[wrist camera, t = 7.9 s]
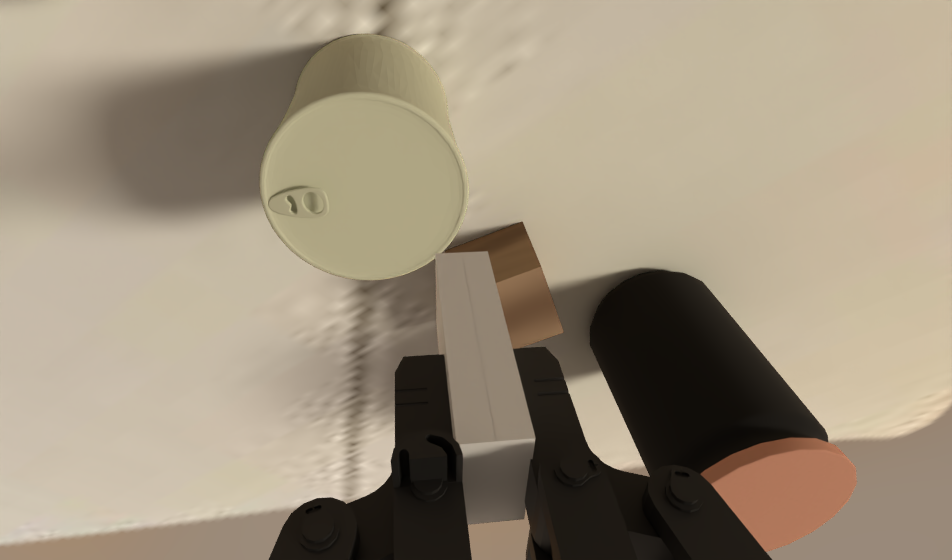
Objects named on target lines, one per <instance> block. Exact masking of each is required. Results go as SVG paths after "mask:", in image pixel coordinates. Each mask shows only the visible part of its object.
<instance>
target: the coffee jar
mask: <svg viewBox="0 0 952 560" xmlns="http://www.w3.org/2000/svg"><path fill="white" fill-rule="evenodd" d="M590 346H591V348H592V350H593V353H594V355H595V357H596V359H597V361H598V364H599V366H600V368H601V370H602V372H603V375H604V377H605V379H606V381H607V383H608V386H609V388H610V390H611V392H612V394H613V396H614V399H615V401H616V403H617V405H618V407H619V410H620V412H621V414H622V416H623V418H624V421H625V423H626V425H627V427H628V429H629V432H630V434H631V436H632V438H633V440H634V443H635V445H636V447H637V449H638V451H639V453H640V456H641V458H642V460H643V462H644V464H645V467H646V469H647V471H648V473H649V475H650V477H651V475H652V473H653V472H654V471H655V470H657V469H659V468H660V467H662V466H668V465H678V466H683V467H687V468H689V469H691V470H693V471H695V472H697V473H699V474H701V475H702V476H703V477H704V478H705V479H706V480H707V481H708V482H709V483H710V484H711V485H712V486H713V487H714V488H715V490H716V491H717V492H718V493H719V495H720V496H721V497H722V498H723V500H724V501H725V502H726V503H727V505H728V506H729V507H730V508H731V509H732V511H733V512H734V513H735V514H736V516H737V517H738V518H739V519H740V521H741V522H742V523H743V524H744V526H745V527H746V528H747V529H748V530H749V532H750V533H751V534H752V535H753V537H754V538H755V539H756V540H757V542H758V543H759V544H760V545H761V547H762V548H763V549H764V550H765V552H767V551H770V550H773V549H776V548H779V547H782V546H785V545H788V544H790V543H792V542H794V541H796V540H798V539H800V538H802V537H803V536H805V535H807V534H809V533H811V532H813V531H814V530H816V529H817V528H818V527H820V526H821V525H823V524H824V523H825V522H827V521H828V520H829V519H831V518H832V517H834V516H835V514H836V513H837V512H838V511H839V510H840V509H841V508H842V507H843V506H844V505H845V504H846V503H847V501H848V500H849V498H850V496H851V494H852V492H853V490H854V488H855V486H856V483H857V481H856V468H855V466H854V465H853V464H852V462H850V460H849V459H848V458H847V457H846V456H845V455H844V453H843V452H842V451H841V450H840V449H839V448H838V447H837V446H836V445H833V444H831V443H828V435H827V433H826V431H825V429H824V428H823V427H822V425H821V424H820V423H819V422H818V421H817V419H816V418H815V417H814V416H813V415H812V413H811V412H810V411H809V410H808V409H807V407H806V406H805V405H804V404H803V402H802V401H801V400H800V399H799V398H798V396H797V395H796V394H795V393H794V392H793V390H792V389H791V388H790V387H789V386H788V384H787V383H786V382H785V381H784V379H783V378H782V377H781V376H780V375H779V373H778V372H777V371H776V370H775V369H774V367H773V366H772V365H771V364H770V363H769V361H768V360H767V359H766V358H765V356H764V355H763V354H762V353H761V352H760V350H759V349H758V348H757V347H756V346H755V344H754V343H753V342H752V341H751V340H750V338H749V337H748V336H747V335H746V333H745V332H744V331H743V330H742V329H741V327H740V326H739V325H738V324H737V323H736V321H735V320H734V319H733V318H732V317H731V315H730V314H729V313H728V312H727V311H726V309H725V308H724V307H723V306H722V304H721V303H720V302H719V301H718V300H717V298H716V297H715V296H714V295H713V294H712V292H711V291H710V290H709V289H708V288H707V287H706V285H705V284H704V283H703V282H702V281H700V280H698V279H696V278H694V277H692V276H689V275H687V274H685V273H680V272H669V271H654V272H648V273H643V274H639V275H637V276H635V277H633V278H630V279H628V280H626V281H624V282H622V283H621V284H620V285H618V286H617V287H616V288H615V289H613V290H612V291H611V292H609V293H608V295H607V296H606V297H605V298H604V300H603V301H602V302H601V303H600V305H599V306H598V309H597V311H596V313H595V316H594V318H593V321H592V323H591V326H590Z"/></svg>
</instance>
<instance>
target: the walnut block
mask: <svg viewBox="0 0 952 560" xmlns="http://www.w3.org/2000/svg"><path fill="white" fill-rule="evenodd" d="M483 251H488V254H489V258H490V262H491V266H492V270H493V274H494V278H495V282H496V286H497V290H498V294H499V297H500V301H501V305H502V309H503V313H504V317H505V321H506V325H507V329H508V333H509V336H510V340H511V344H512V348H513V349H517V348H521V347H524V346H527V345H530V344H533V343H536V342H538V341H541V340H544V339H547V338H550V337H552V336H555V335H558V334H561V333H564V332H563V329H562V326H561V323H560V320H559V317H558V314H557V311H556V308H555V305H554V303H553V300H552V297H551V294H550V291H549V288H548V285H547V282H546V279H545V276H544V274H543V271H542V268H541V265H540V263H539V260H538V258H537V256H536V253H535V251H534V248H533V246H532V244H531V241H530V239H529V236H528V234H527V232H526V229H525V227H524V224H523V222H520V223H517V224H515V225H512V226H509V227H507V228H504V229H501V230H499V231H496V232H493V233H491V234H488V235H486V236H483V237H480V238H478V239H475V240H472V241H470V242H467V243H464V244H462V245H459V246H456V247H454V248H451V249H448V250H446V251H445V253H459V252H483Z"/></svg>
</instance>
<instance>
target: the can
mask: <svg viewBox="0 0 952 560" xmlns="http://www.w3.org/2000/svg"><path fill="white" fill-rule="evenodd" d="M259 188H260V195H261V200H262V204H263V208H264V211H265V214H266V216H267V218H268V221H269V222H270V224H271V226H272V228H273V229H274V231H275V232H276V234H277V235H278V237H279V238H280V239H281V240H282V241H283V243H284V244H285V245H286V246H287V247H288V248H289V249H290V250H291V251H292V252H293V253H295V254H296V255H297V256H298V257H300V258H301V259H302V260H304V261H305V262H307V263H309V264H310V265H312V266H314V267H316V268H318V269H320V270H322V271H325V272H327V273H330V274H332V275H336V276H340V277H343V278H349V279H355V280H383V279H389V278H394V277H398V276H402V275H405V274H408V273H410V272H413V271H415V270H417V269H419V268H421V267H423V266H425V265H426V264H428V263H429V262H431V261H432V260H434V259H435V253H442V252H443V251H444V250H445V249H446V248H447V246H448V245H449V244H450V243H451V242H452V240H453V239H454V237H455V236H456V234H457V233H458V231H459V229H460V227H461V225H462V222H463V219H464V217H465V213H466V210H467V205H468V196H469V185H468V176H467V171H466V167H465V164H464V161H463V158H462V156H461V153H460V151H459V149H458V147H457V145H456V142H455V138H454V135H453V132H452V128H451V125H450V121H449V118H448V107H447V100H446V96H445V92H444V89H443V86H442V84H441V82H440V80H439V78H438V76H437V74H436V73H435V71H434V70H433V68H432V67H431V66H430V64H429V63H428V62H427V61H426V60H425V59H424V58H423V57H422V56H421V55H420V54H419V53H418V52H416V51H415V50H414V49H412V48H411V47H409V46H407V45H406V44H404V43H402V42H400V41H398V40H395V39H392V38H389V37H386V36H382V35H375V34H357V35H350V36H346V37H343V38H340V39H337V40H335V41H333V42H331V43H329V44H328V45H326V46H324V47H323V48H322V49H320V50H319V51H318V52H317V53H316V54H315V55H314V56H313V57H312V58H311V59H310V60H309V61H308V63H307V64H306V66H305V67H304V69H303V71H302V72H301V74H300V77H299V79H298V82H297V85H296V90H295V95H294V98H293V100H292V102H291V104H290V106H289V108H288V110H287V113H286V115H285V117H284V118H283V120H282V122H281V124H280V126H279V127H278V129H277V130H276V131H275V133H274V134H273V136H272V137H271V139H270V141H269V143H268V145H267V147H266V150H265V152H264V155H263V158H262V162H261V167H260V176H259Z"/></svg>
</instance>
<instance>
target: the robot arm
mask: <svg viewBox="0 0 952 560" xmlns="http://www.w3.org/2000/svg"><path fill="white" fill-rule="evenodd" d="M435 271H436V328H437V338H438V348H439V355H424V356H408V357H403V359H402V361H401V362H400V364H399V366H398V368H397V370H396V372H395V448H394V450H393V454H392V458H391V468H392V473H391V475H390V477H389V478H388V479H387V481H386V482H385V483H384V484H383V485H382V486H381V487H380V488H379V489H377V490H376V491H375V492H373V493H371V494H369V495H367V496H365V497H363V498H360V499H358V500H355V501H353V502H350V503H348V504H346V503H345V502H343V501H340V500H337V499H334V498H317V499H314V500H312V501H309V502H307V503H304V504H302V505H301V506H300V507H299V508H297V509H296V510H295V511H294V512H293V513H291V515H290V516H289V518H288V520H287V521H286V522H285V524H284V526H283V528H282V530H281V532H280V535H279V537H278V539H277V542H276V544H275V546H274V549H273V551H272V553H271V556H270V558H269V560H472V558H471V550H470V541H469V534H468V524H479V523H489V522H499V521H509V520H519V519H524V516H525V509H526V510H527V515H528V520H529V524H530V531H529V537H528V544H527V550H526V560H772V559H771V558H770V557H769V555H768V554H767V553H766V552H765V550H764V549H763V548H762V547H761V545H760V544H759V543H758V542H757V540H756V539H755V538H754V537H753V535H752V534H751V533H750V532H749V530H748V529H747V528H746V527H745V526H744V524H743V523H742V522H741V521H740V519H739V518H738V517H737V516H736V514H735V513H734V512H733V511H732V509H731V508H730V507H729V506H728V505H727V503H726V502H725V501H724V500H723V498H722V497H721V496H720V495H719V493H718V492H717V491H716V490H715V488H714V487H713V486H712V485H711V484H710V483H709V482H708V481H707V480H706V479H705V478H704V477H703V476H702V475H701V474H699V473H697V472H695V471H693V470H691V469H689V468H687V467H683V466H678V465H668V466H662V467H660V468H659V469H657V470H655V471H654V472H653V473H652V475H651V477H647V476H643V475H638V474H634V473H629V472H624V471H621V470H617V469H614V468H612V467H610V466H608V465H606V464H605V463H603V462H602V461H601V460H600V459H599V458H598V457H597V456H596V455H595V454H593V452H592V451H591V450H590V448H589V446H588V444H587V442H586V440H585V437H584V434H583V431H582V428H581V426H580V423H579V420H578V417H577V414H576V411H575V408H574V405H573V402H572V399H571V397H570V394H569V393H568V388H567V385H566V382H565V380H564V376H563V373H562V371H561V368H560V365H559V362H558V360H557V359H556V358H555V357H554V356H553V355H552V354H551V353H550V352H549V350H548V349H547V348H546V347H533V348H517V349H513V348H512V344H511V340H510V336H509V333H508V329H507V325H506V321H505V317H504V313H503V309H502V305H501V301H500V297H499V294H498V290H497V286H496V282H495V278H494V274H493V270H492V266H491V262H490V258H489V254H488V251H483V252H459V253H435Z"/></svg>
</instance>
